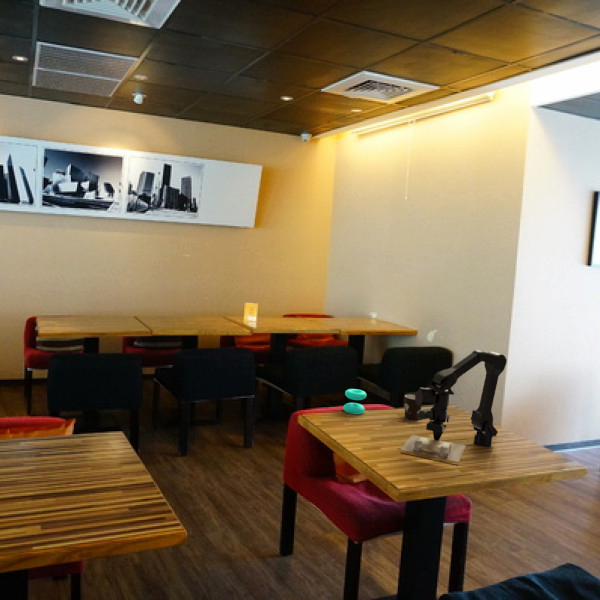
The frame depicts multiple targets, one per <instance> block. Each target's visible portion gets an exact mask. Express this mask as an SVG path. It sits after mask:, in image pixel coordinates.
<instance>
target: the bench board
mask: <svg viewBox="0 0 600 600" xmlns="http://www.w3.org/2000/svg"><path fill="white" fill-rule="evenodd" d="M421 437H423V438H426V437H425V436H420V435H417V434H416V435H415V434H411V435H410V437H409V438H408V439H407V441H406V442H405V443H404V444H403V446H402V447H401V448H400V451H405V452H399V454H400V455H401V454H402V455H406V456H411V457H415V458H419V459H425V460H428V461H432V462H433V461H434V462H438V463H443V464H447V465H451V466H456V467H459V464H456V463H459V462H460V460H461V458H462V456H463V454H464V452H465V449H466V448H467V445H464V444H460V443H459V444H458V443H455V442H449V441H446V440H445V441H444V440H440V439H439V441H442V442H447V443H451V450H450V451H449V448H448V447H446V446H441V449H440V454H438V453H434V452H429V451H424V450H422V442H421V441H418V440H419V439H420V438H421ZM427 438H428V439H431V438H430V437H427ZM432 439H433V440H434V438H432ZM448 451H449V453H448ZM407 452H409V453H413V454H409V453H407ZM416 454H418V455H416ZM419 455H424V456H427V457H428V456H429V457H432V458H437V459H442V460H446V461H451V462H455V464H454V463H451V462H446V461H442V460H437V459H432V458H427V457H424V456H419Z"/></svg>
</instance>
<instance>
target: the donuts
mask: <svg viewBox="0 0 600 600" xmlns="http://www.w3.org/2000/svg"><path fill="white" fill-rule="evenodd" d="M344 395H345V396H346V398H348V399H349V400H353V401H362V400H364V399H366V398H367V393H366V391H364V390H362V389H358V388H357V389H356V388H348V389H347V390H345V392H344ZM343 411H344V412H346V413H348V414H352V415H362V414H364V413H365V412H366V408H365V407H364V405H362V404H361V403H357V402H348V403H345V404H344V405H343Z"/></svg>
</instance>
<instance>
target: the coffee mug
mask: <svg viewBox="0 0 600 600" xmlns="http://www.w3.org/2000/svg"><path fill="white" fill-rule="evenodd" d="M402 400H403V405H404V418H405V419H407V420H410V421H419V419H418V417H417V412H418V411H419V410H422V407H423V405H417V404H416V401H415V394H405V395H404V397H403V399H402Z"/></svg>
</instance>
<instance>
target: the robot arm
mask: <svg viewBox="0 0 600 600" xmlns="http://www.w3.org/2000/svg"><path fill="white" fill-rule="evenodd" d="M507 361H508V360H507V357H506V356H505V355H504V354H503V353H502V354H501V353H500V352H499V353H498V352H496V351H489V352H486V351H481V350H479V349H475V350H472V352H471V353H470V354H469V355H467V356H466V357H464V358H462V359H461V360H460V361H458V362H457V363H456V364H454V365H453V366H451V367H449V368H445V369H442V370H440V371H438V372H436V373H435V374H434V376H433V378H432V379H431V381H430V382H429V383H428V385H427V386H426V387H419V388H418V390H417V391H416V392H415V394H414V395H415V401H416V404H417V405H422V406H431V407H430V408H426V409H425V408H424V409H421V410H419V411H418V412H417V417H418V421H423V420H428V419H429V421H428V422H427V423H426V425H425V426H426V427H425V428H426V429H425V430H426V431H430V432H431V431H432V435H433V439H434V440H437V441H439V440H440V439H441V438H442V436H443V434H444V432H445V430H446V428H447V424H448V423H449V422H450V418H451V417H450V415H449V414H448V411H449V407H448V405H449V397H450V396H451V395H452V396H453V395H455V393H454V391H453V390H452V388H453V387H454V386H455V384H456V383H457V382H458V380H459V378H460V377H462V376H463V375H465V374H466V373H468V371H470V370H472V369H473V368H474V367H476V366H477V365H479V364H480V363H482V362H483V363H484V368H485V372H486V373H485V378H484V382H483V386H482V391H481V397H480V401H479V405H478V408H477V409H472V412H471V417H470V420H471V421H470V422H471V424H472V426H473V430H474V431H476V433H475V434H474V439H473V444H475V445H477V446H479V447H483V448H487V447H488V448H492V443H493V438H494V437H496V436H497V434H498V433H499V432H498V431H499V430H497V429H496V427H495V426H494V416H493V411H492V408H493V404H494V399H495V395H496V390H497V386H498V381H499V377H500V375H501V374H502V373H503V372H504V370H505V367H506V366H507V363H508V362H507ZM445 423H447V424H445Z"/></svg>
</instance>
